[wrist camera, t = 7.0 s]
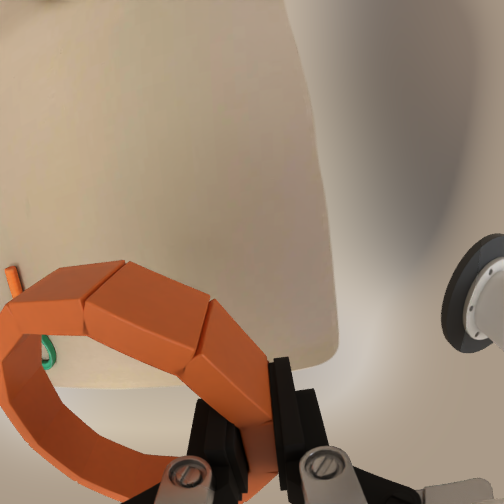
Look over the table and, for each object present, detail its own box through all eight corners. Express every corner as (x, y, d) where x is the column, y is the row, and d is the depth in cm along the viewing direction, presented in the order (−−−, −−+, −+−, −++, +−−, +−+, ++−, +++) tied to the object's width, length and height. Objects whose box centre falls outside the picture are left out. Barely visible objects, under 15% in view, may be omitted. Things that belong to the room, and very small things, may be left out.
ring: (255, 244, 9) (259, 283, 6) (280, 463, 12) (284, 512, 9) (-6, 275, 9) (-51, 303, 6) (84, 452, 12) (68, 489, 9)
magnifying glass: (62, 368, 33) (57, 374, 31) (33, 362, 33) (28, 368, 31) (29, 264, 29) (21, 269, 27) (1, 265, 29) (-7, 270, 27)
